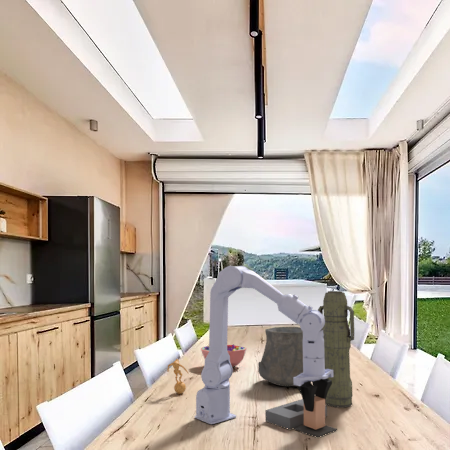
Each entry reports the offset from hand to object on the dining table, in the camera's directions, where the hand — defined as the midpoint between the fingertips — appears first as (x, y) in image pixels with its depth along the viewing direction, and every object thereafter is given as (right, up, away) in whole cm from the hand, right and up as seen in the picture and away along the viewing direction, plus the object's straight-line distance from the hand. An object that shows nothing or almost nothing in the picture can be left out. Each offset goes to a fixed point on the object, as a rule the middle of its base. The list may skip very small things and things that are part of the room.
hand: (314, 408), depth 120 cm
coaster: (0, -5, 0) cm, 5 cm away
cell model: (-25, -13, +74) cm, 79 cm away
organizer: (-4, -6, +8) cm, 11 cm away
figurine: (-40, -9, +34) cm, 53 cm away
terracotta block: (0, -4, 0) cm, 4 cm away
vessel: (-1, -10, +46) cm, 47 cm away
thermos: (+12, -8, +23) cm, 27 cm away
